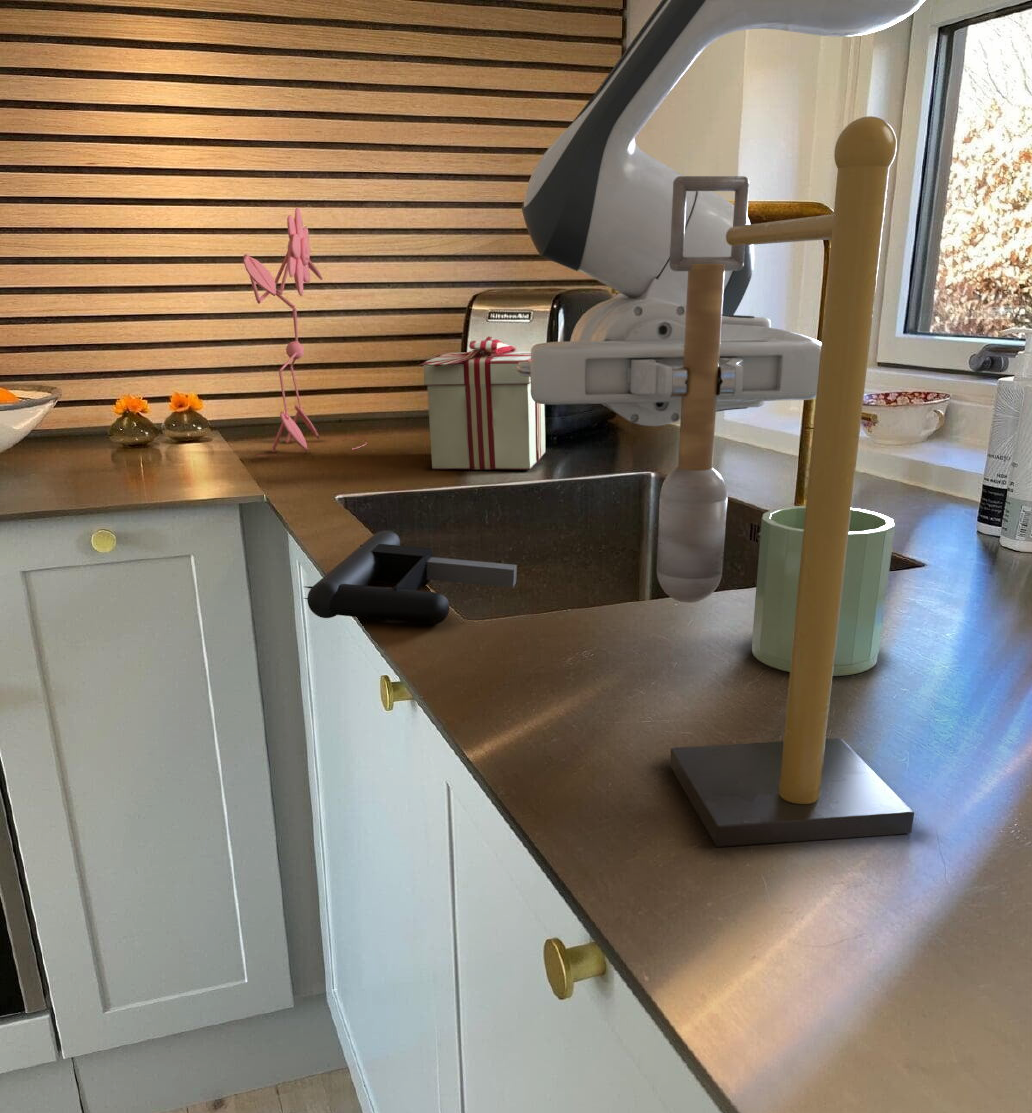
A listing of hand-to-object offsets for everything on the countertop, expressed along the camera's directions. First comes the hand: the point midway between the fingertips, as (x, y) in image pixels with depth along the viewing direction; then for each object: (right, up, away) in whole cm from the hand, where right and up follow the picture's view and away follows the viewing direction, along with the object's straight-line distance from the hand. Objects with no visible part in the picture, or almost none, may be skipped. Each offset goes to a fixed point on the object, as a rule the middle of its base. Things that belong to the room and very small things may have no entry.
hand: (704, 382), depth 65 cm
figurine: (-43, +19, +102) cm, 113 cm away
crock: (+10, -17, +11) cm, 22 cm away
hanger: (+2, -23, -5) cm, 24 cm away
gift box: (-17, +14, +87) cm, 90 cm away
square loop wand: (0, -13, +6) cm, 15 cm away
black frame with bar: (-20, -11, +26) cm, 35 cm away
